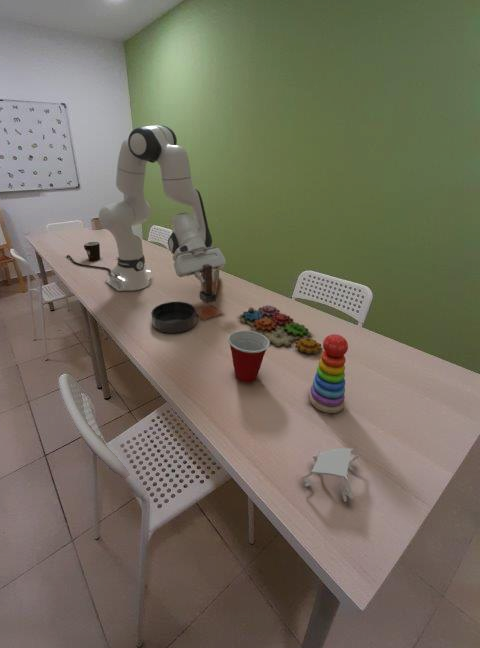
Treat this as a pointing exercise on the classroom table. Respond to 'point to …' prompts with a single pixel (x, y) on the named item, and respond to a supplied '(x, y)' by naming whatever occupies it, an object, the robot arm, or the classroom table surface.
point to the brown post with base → (207, 285)
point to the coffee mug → (93, 250)
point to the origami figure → (334, 466)
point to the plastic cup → (247, 353)
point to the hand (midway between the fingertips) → (208, 281)
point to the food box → (215, 282)
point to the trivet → (207, 312)
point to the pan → (174, 317)
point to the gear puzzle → (280, 328)
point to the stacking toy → (330, 376)
